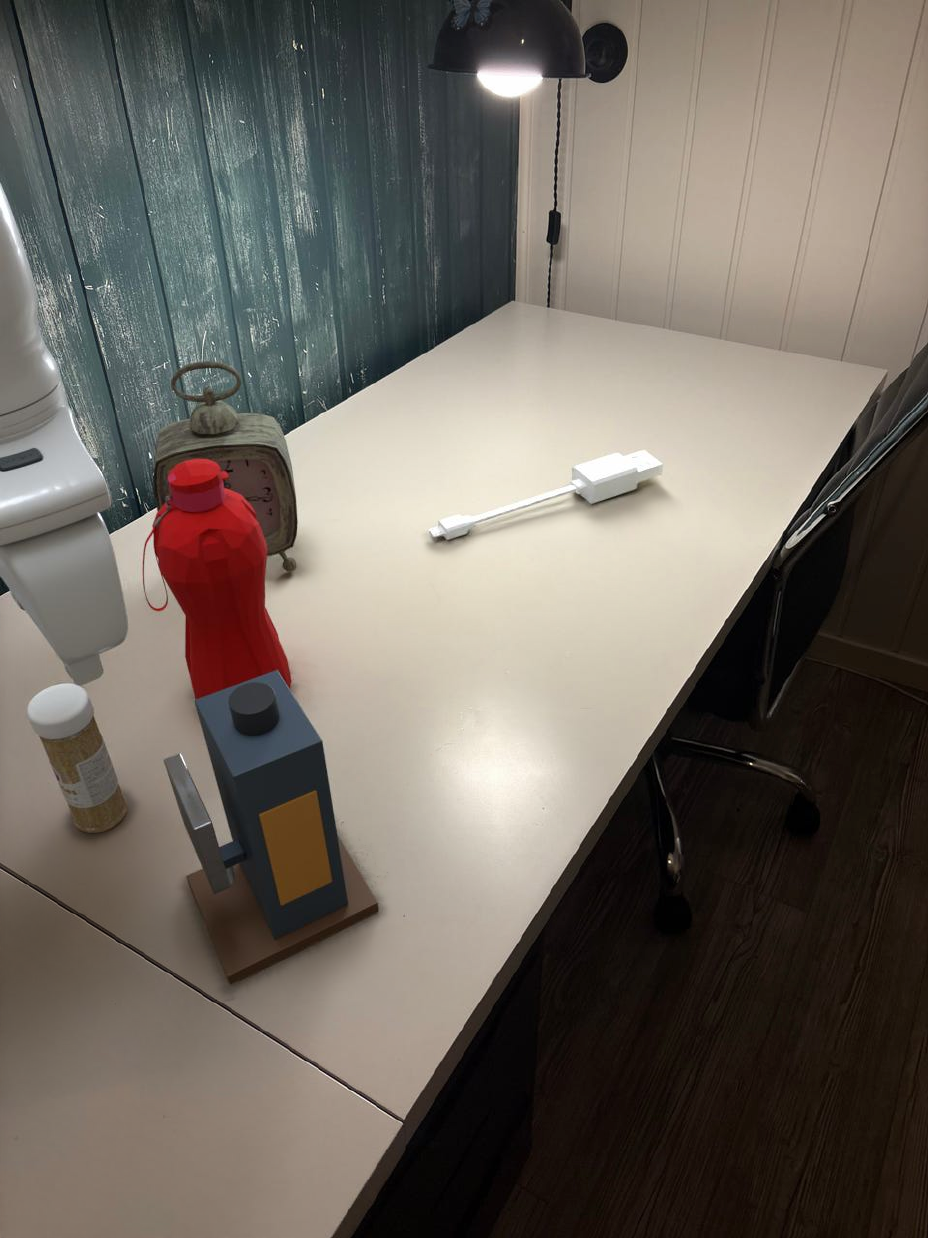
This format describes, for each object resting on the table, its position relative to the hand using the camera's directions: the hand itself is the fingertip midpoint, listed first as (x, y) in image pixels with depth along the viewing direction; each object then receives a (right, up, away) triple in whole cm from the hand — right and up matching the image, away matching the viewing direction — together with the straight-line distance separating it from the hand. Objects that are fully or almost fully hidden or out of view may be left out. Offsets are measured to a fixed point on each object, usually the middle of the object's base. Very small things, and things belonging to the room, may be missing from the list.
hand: (57, 637), depth 58 cm
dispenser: (+11, -21, +14) cm, 27 cm away
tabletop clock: (0, +8, +50) cm, 50 cm away
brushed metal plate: (+7, -16, +7) cm, 19 cm away
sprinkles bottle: (-5, -16, +21) cm, 27 cm away
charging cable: (+37, +16, +59) cm, 71 cm away
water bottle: (+3, -6, +33) cm, 33 cm away
